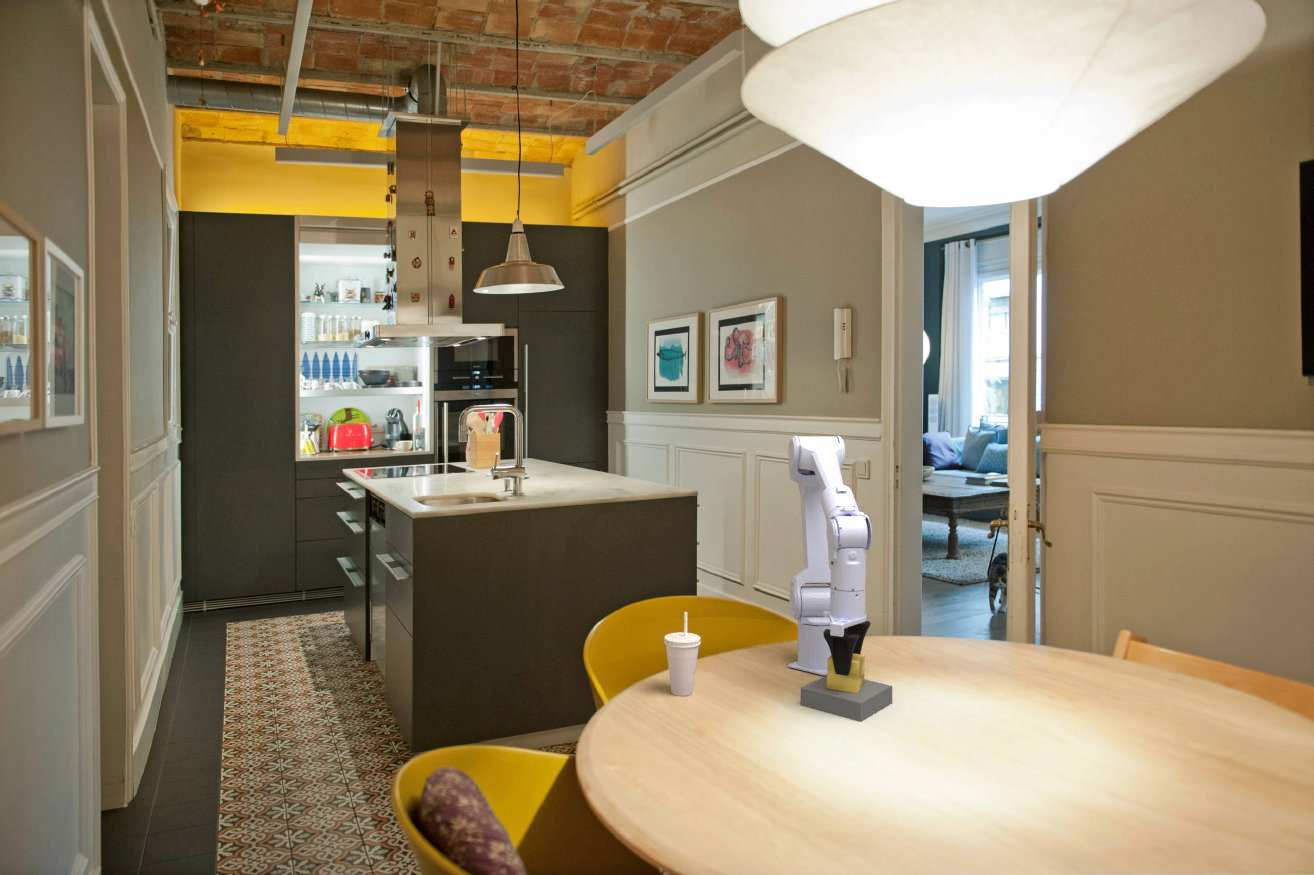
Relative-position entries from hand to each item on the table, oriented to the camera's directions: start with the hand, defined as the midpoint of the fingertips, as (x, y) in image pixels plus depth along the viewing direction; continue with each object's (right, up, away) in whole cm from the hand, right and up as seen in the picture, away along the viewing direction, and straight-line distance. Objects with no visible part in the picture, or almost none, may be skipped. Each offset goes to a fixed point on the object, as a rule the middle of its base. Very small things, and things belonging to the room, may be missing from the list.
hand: (846, 669), depth 139 cm
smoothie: (-27, -6, +6) cm, 28 cm away
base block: (0, -7, 0) cm, 6 cm away
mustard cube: (0, -3, 0) cm, 3 cm away
